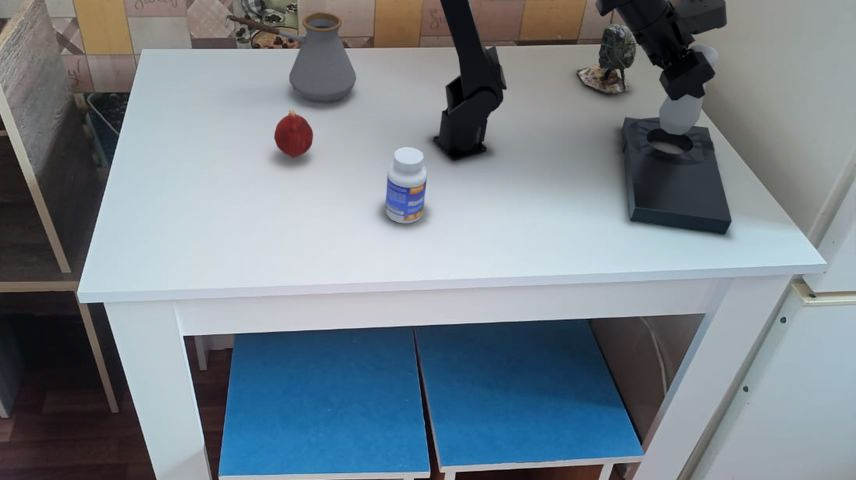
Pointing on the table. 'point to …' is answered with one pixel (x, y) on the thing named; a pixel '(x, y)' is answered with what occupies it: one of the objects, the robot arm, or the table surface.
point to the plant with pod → (611, 59)
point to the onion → (293, 135)
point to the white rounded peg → (685, 103)
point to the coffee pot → (316, 58)
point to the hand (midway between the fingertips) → (698, 90)
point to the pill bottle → (406, 186)
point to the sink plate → (673, 178)
